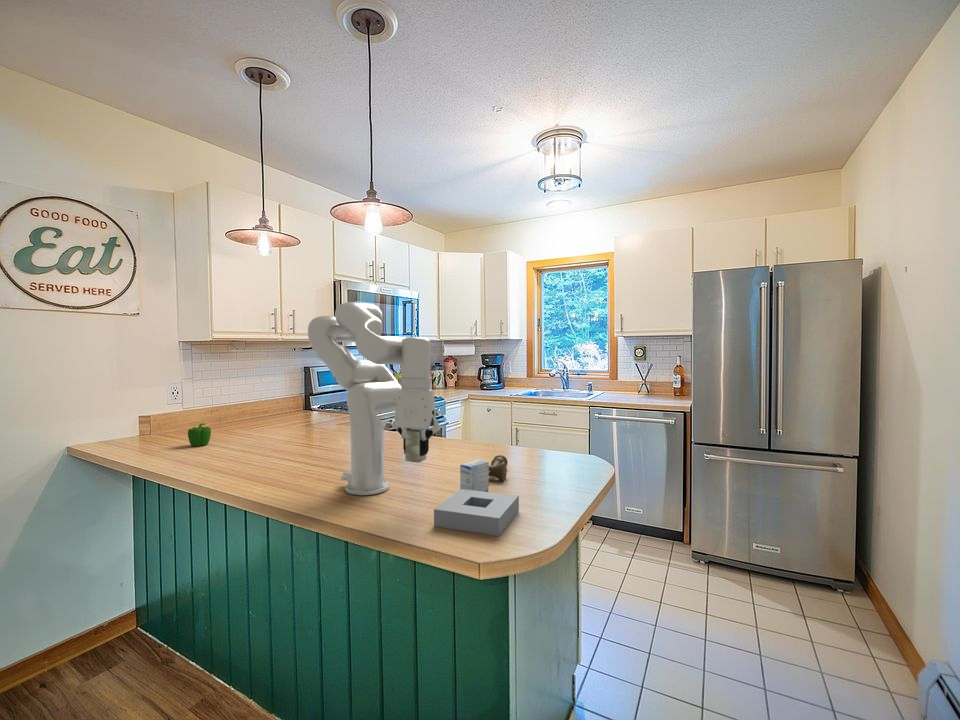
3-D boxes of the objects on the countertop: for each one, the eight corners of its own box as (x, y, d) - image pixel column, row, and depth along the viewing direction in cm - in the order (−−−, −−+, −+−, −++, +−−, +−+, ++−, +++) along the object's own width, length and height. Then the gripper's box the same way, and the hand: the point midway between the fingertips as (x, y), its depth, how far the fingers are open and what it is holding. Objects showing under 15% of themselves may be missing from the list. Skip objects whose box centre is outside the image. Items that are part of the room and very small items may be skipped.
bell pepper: (183, 447, 188) (183, 424, 188) (200, 443, 196) (200, 421, 196) (197, 448, 186) (197, 425, 185) (215, 444, 193) (214, 422, 193)
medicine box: (477, 487, 130) (477, 458, 130) (489, 490, 127) (489, 461, 127) (459, 494, 124) (459, 464, 124) (471, 497, 121) (471, 466, 121)
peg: (405, 461, 113) (405, 430, 113) (413, 457, 117) (413, 428, 117) (419, 462, 112) (419, 431, 111) (426, 459, 115) (426, 429, 115)
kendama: (514, 471, 150) (501, 486, 131) (487, 469, 153) (470, 484, 134) (514, 453, 150) (500, 466, 131) (487, 452, 153) (470, 465, 134)
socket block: (434, 526, 101) (433, 509, 101) (461, 503, 116) (460, 488, 116) (499, 536, 96) (499, 518, 96) (518, 511, 111) (518, 495, 111)
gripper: (380, 384, 113) (380, 454, 114) (438, 386, 107) (438, 460, 108) (396, 382, 120) (396, 448, 121) (451, 384, 114) (450, 453, 115)
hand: (415, 453), depth 114 cm, fingers closed on peg, 3 cm apart
